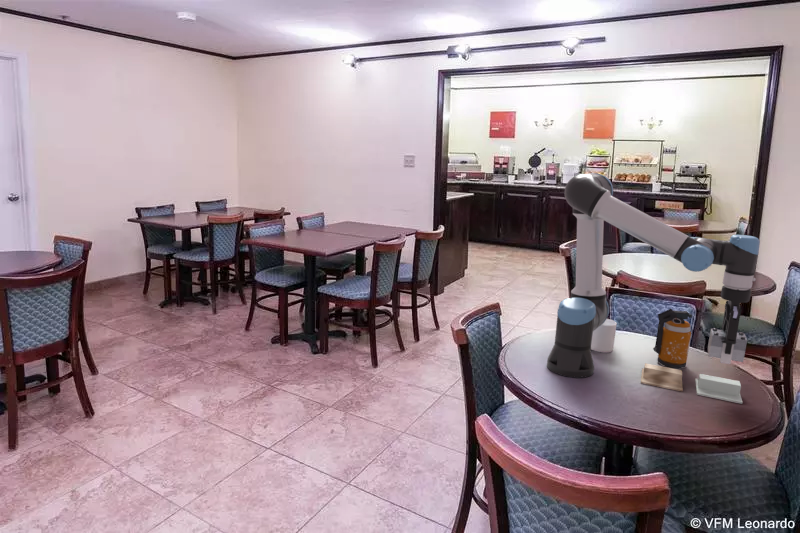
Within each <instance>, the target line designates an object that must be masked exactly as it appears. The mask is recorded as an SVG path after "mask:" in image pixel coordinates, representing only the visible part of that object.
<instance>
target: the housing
mask: <svg viewBox="0 0 800 533" xmlns="http://www.w3.org/2000/svg"><path fill="white" fill-rule="evenodd" d="M725 334H726V331H723V330H721V329H718V328H716V327H713V328H710V332H709V339H708V344H707V349H706V350H707V354H708V357H711V358H716V359H720V358H721V353H722V347H723V343H722V340H723V341H724V340H725ZM747 343H748V339H747V336H746V334H745V333H744V332H743V331H742V332H741V331H739V332H737V337H736V344H734V348H733V353H732V359H731V361H734V362H739V363H740V362H741V363H744V359H745V355H746V349H747Z"/></svg>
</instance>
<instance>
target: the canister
mask: <svg viewBox="0 0 800 533" xmlns="http://www.w3.org/2000/svg"><path fill="white" fill-rule="evenodd" d="M657 317H658V324H657V332H656V338H655V346H654V347H653V348H652V350H653V351H654V352H655V353H656V354H658V355H657V363H658V364H660V365H662V367H667V368H673V369H678V370H680V369H684V368H687V367H686V366H687V361H688V356H689V355H688V354H689V350H690V345H691V344H690V343H691V337H692V332H691V327H692V326H691V323H689V321H688V319H692V318H693V315H692V314H691V313H690V312H688V310H673V309H672V308H669V309H667V310H664V311H663V312H660V313H658V314H657ZM686 320H687V321H686Z"/></svg>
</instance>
